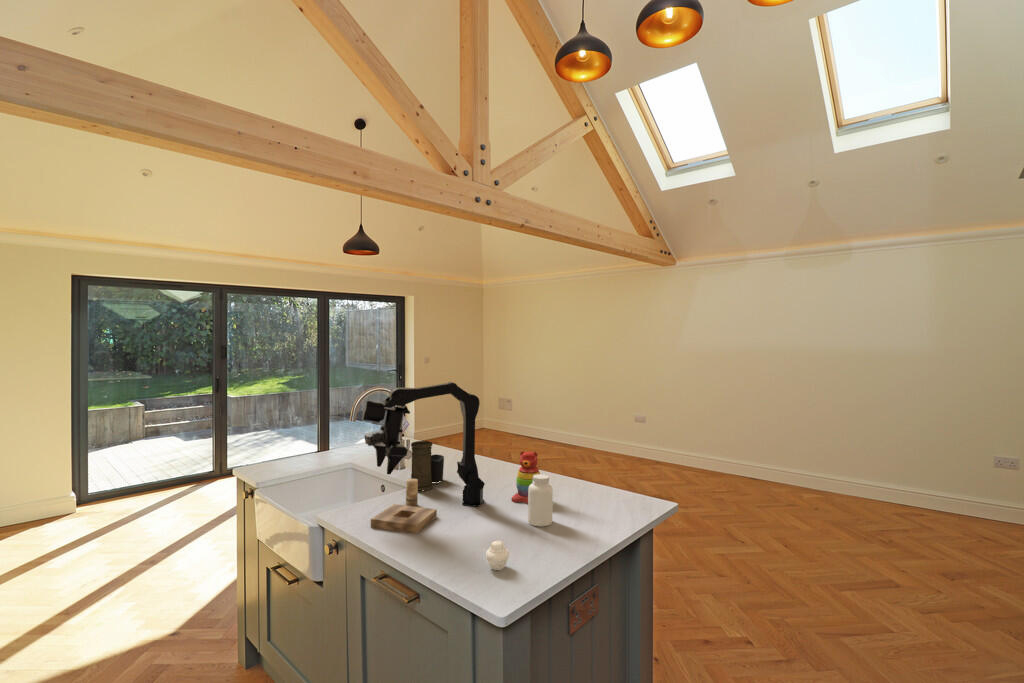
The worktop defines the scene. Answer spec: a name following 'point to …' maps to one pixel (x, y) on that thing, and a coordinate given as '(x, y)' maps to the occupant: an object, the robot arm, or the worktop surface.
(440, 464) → the pen holder
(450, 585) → the worktop surface
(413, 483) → the peg
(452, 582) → the worktop surface
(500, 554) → the cream rounded piece
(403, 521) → the board
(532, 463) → the stacking bear
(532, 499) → the pill bottle
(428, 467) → the container
